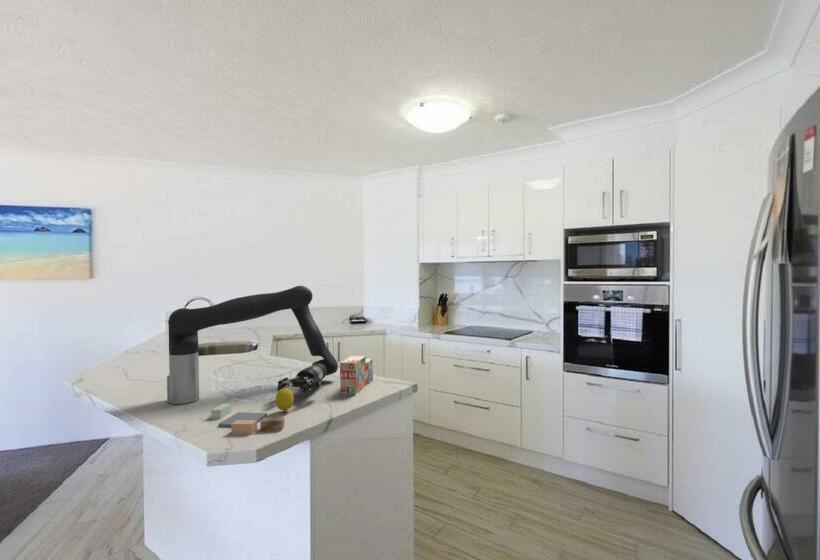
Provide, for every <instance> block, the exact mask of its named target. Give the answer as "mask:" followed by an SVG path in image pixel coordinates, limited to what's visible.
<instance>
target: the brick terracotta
mask: <svg viewBox="0 0 820 560" xmlns="http://www.w3.org/2000/svg"><path fill="white" fill-rule="evenodd" d="M230 428H231V429H230V430H231V433H230V434H231V435H253V434H254V433H255V432H257V431H258V423H257V420H236V421H235V422H233V423H232V424H231V427H230Z"/></svg>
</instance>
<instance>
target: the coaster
mask: <svg viewBox="0 0 820 560" xmlns="http://www.w3.org/2000/svg"><path fill="white" fill-rule="evenodd" d="M267 416H268V413H267V412H245V411H243V412H241V411H239V412H236V413H234V414H233V415H231V416H228V417H227V418H226V419H225V420H222V421H221V422H219V423H218V427H223V428H231V424H232V423H233V422H235V421H236V420H257V424H258V423H259V422H261V420H262V419H263V418H267Z"/></svg>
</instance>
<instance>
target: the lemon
mask: <svg viewBox="0 0 820 560" xmlns="http://www.w3.org/2000/svg"><path fill="white" fill-rule="evenodd" d="M294 398H295V397H294V393H293V391H292V389H288V388H286V387H284V388H283V389H281V390H280V391H279V392H278V391H277V393H276V396H275V404H276V407H277V408H278V409H279V410H280V411H283V412H284V413H286V412H287V411H288V410H290V409H291V408H292V407H293V404H294V400H295V399H294Z"/></svg>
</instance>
